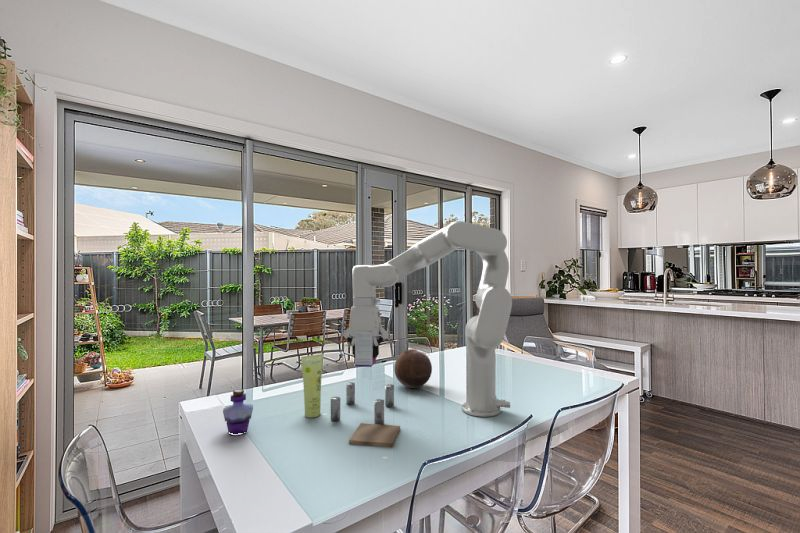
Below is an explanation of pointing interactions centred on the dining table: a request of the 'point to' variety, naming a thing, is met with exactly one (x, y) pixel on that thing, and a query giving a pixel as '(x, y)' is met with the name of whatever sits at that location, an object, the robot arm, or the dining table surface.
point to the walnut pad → (375, 435)
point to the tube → (312, 384)
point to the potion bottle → (238, 413)
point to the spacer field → (351, 400)
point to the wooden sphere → (413, 368)
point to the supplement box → (364, 349)
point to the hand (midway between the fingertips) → (365, 356)
